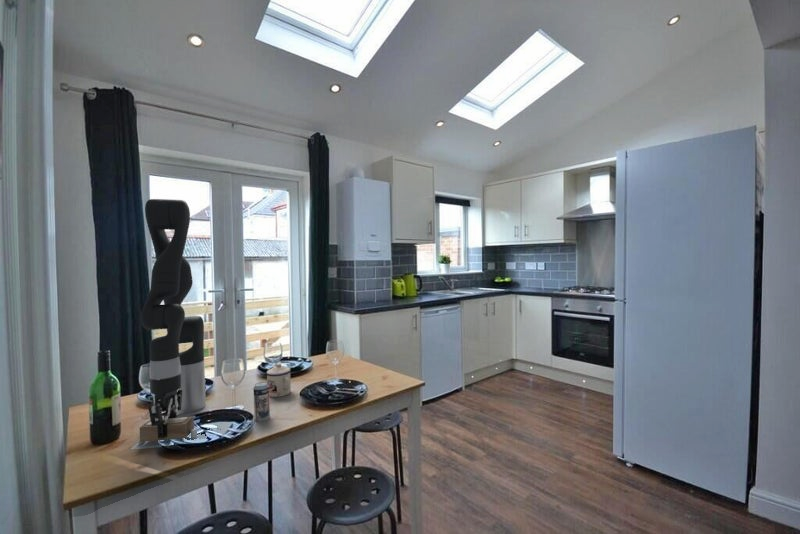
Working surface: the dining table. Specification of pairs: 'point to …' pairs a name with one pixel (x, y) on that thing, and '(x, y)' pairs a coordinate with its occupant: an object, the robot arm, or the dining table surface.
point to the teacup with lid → (279, 381)
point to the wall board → (193, 432)
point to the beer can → (261, 401)
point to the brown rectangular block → (168, 429)
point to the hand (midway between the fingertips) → (167, 432)
